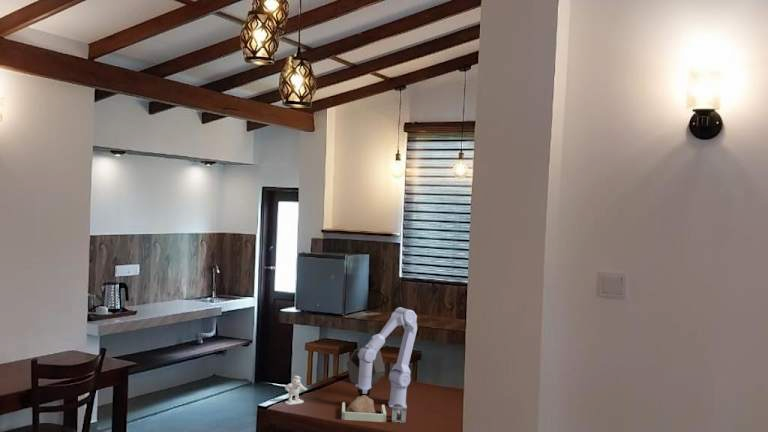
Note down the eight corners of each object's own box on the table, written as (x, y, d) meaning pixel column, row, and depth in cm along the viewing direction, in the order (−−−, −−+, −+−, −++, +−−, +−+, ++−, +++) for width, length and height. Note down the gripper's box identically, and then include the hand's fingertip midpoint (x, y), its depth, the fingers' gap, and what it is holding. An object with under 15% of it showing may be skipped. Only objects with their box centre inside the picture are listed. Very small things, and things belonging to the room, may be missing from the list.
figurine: (290, 406, 302) (293, 378, 303) (282, 402, 307) (284, 375, 307) (307, 403, 309) (309, 376, 309) (298, 400, 313) (300, 373, 314)
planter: (341, 370, 359) (360, 340, 353) (350, 369, 365) (370, 339, 359) (361, 394, 351) (381, 364, 344) (370, 392, 357) (390, 362, 350)
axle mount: (391, 420, 291) (392, 406, 291) (405, 421, 291) (406, 407, 292) (391, 422, 289) (393, 407, 289) (405, 422, 289) (406, 408, 290)
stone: (370, 418, 301) (361, 396, 304) (383, 411, 295) (374, 389, 298) (349, 426, 292) (340, 404, 294) (363, 420, 286) (353, 397, 289)
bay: (341, 409, 304) (342, 402, 304) (383, 411, 305) (384, 404, 305) (341, 419, 287) (342, 412, 287) (386, 422, 288) (386, 415, 288)
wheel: (391, 415, 298) (392, 403, 298) (403, 416, 298) (404, 404, 298) (392, 419, 292) (393, 406, 292) (404, 420, 292) (405, 407, 292)
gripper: (355, 371, 315) (353, 401, 314) (356, 378, 300) (354, 410, 300) (371, 372, 315) (369, 402, 315) (372, 379, 300) (370, 411, 300)
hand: (363, 406), depth 307 cm, fingers closed
